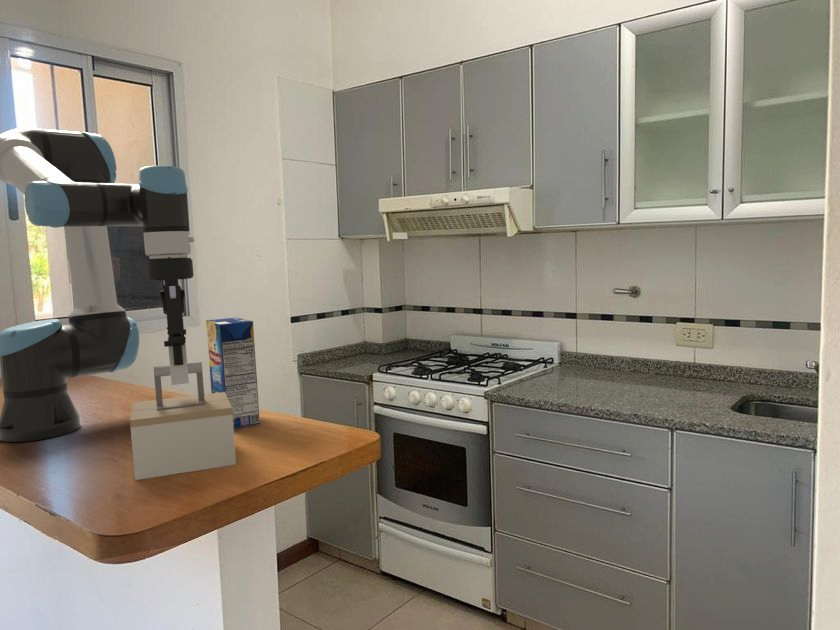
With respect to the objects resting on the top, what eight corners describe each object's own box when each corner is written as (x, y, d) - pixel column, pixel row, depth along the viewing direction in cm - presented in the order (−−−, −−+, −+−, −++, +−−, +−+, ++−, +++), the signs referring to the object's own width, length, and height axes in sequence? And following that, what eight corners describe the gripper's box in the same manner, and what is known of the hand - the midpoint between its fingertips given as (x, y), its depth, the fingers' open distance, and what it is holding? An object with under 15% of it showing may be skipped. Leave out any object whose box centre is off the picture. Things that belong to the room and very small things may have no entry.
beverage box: (227, 430, 133) (220, 324, 130) (213, 419, 142) (205, 320, 140) (260, 424, 136) (253, 321, 134) (243, 414, 146) (237, 317, 143)
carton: (138, 455, 118) (133, 400, 117) (228, 442, 124) (224, 390, 123) (135, 480, 105) (129, 418, 104) (236, 464, 111) (231, 406, 110)
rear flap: (133, 406, 117) (130, 364, 116) (225, 396, 123) (222, 355, 122) (132, 415, 111) (128, 370, 110) (228, 403, 117) (225, 361, 116)
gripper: (195, 255, 102) (205, 387, 104) (189, 256, 125) (197, 364, 127) (143, 257, 99) (155, 392, 102) (147, 258, 122) (157, 368, 125)
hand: (179, 377), depth 114 cm, fingers open, 13 cm apart
